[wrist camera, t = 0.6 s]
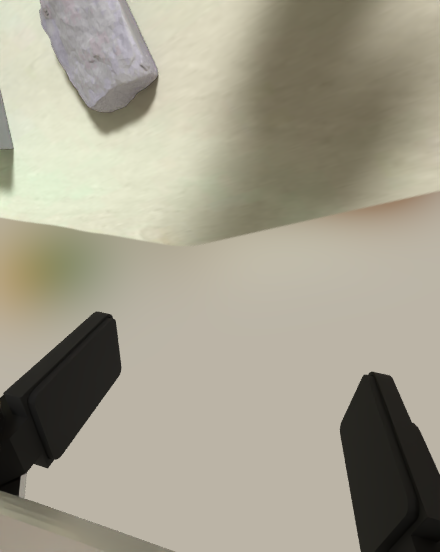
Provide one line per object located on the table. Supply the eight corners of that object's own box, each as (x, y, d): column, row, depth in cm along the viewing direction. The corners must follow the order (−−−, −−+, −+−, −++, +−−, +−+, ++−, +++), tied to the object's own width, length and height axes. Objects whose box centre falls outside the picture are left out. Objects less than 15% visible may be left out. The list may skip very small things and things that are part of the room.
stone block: (115, 122, 36) (168, 74, 30) (86, 122, 32) (141, 67, 26) (62, 21, 32) (111, -54, 27) (23, 8, 28) (70, -82, 23)
